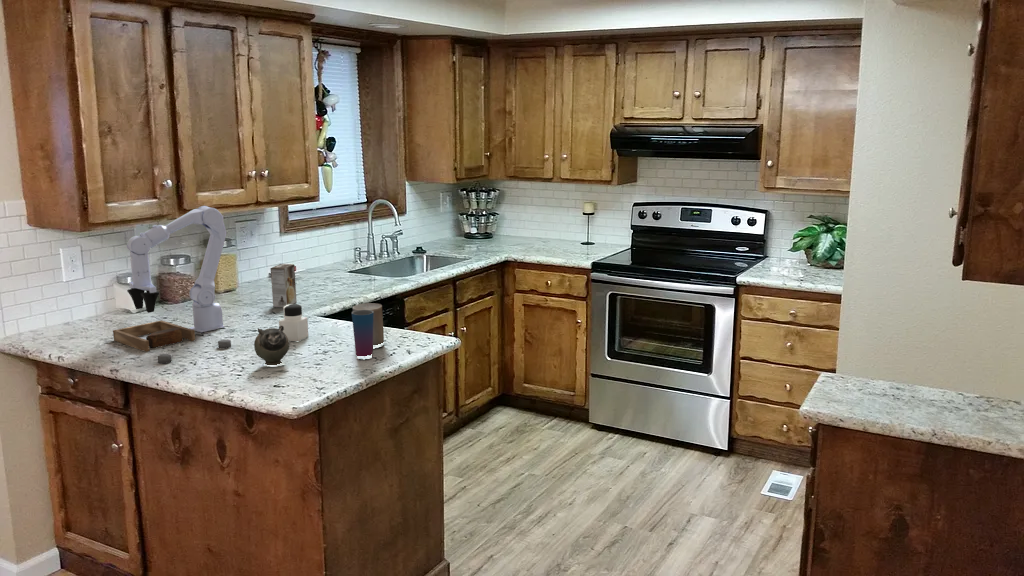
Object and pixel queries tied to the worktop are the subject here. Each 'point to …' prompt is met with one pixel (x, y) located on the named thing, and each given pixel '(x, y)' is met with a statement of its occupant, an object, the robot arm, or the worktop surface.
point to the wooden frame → (131, 333)
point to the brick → (164, 337)
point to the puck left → (164, 358)
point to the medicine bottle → (294, 323)
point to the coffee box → (283, 285)
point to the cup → (363, 331)
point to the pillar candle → (374, 320)
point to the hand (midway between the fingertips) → (145, 310)
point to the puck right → (224, 343)
